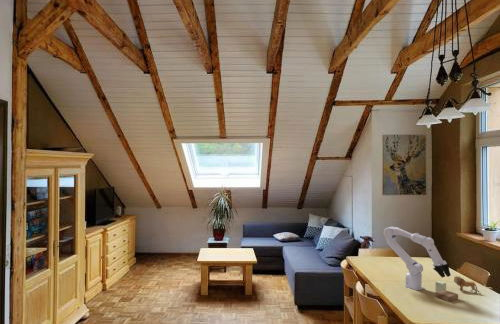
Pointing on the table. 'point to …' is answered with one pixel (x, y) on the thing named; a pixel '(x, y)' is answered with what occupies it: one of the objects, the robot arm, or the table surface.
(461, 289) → the lion figurine
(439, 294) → the walnut block
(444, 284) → the sage block
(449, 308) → the table surface
